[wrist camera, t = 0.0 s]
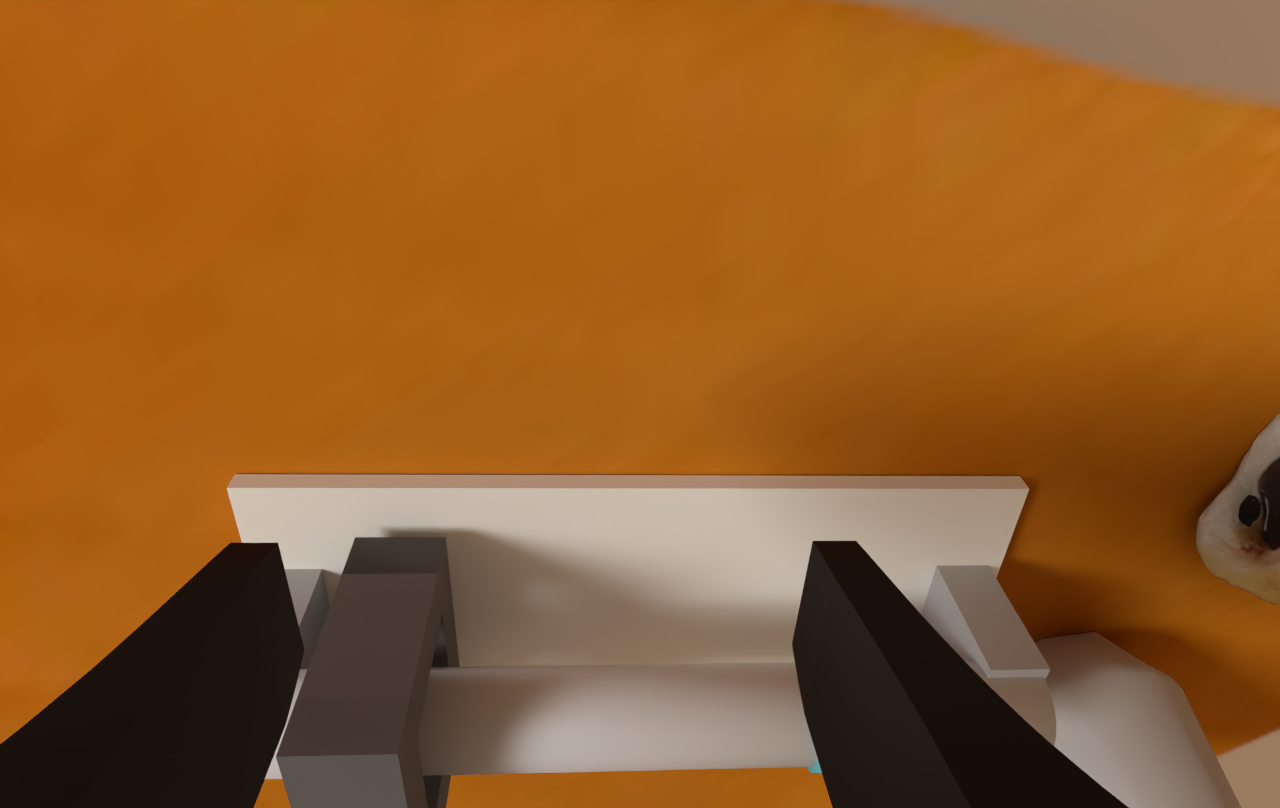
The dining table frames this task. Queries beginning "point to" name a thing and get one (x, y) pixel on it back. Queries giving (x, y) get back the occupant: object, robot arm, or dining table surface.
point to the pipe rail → (648, 602)
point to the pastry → (1247, 521)
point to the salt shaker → (1130, 727)
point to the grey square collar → (373, 681)
